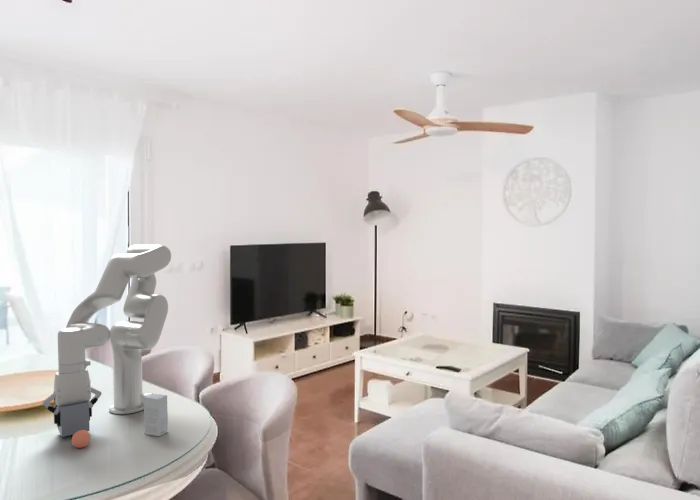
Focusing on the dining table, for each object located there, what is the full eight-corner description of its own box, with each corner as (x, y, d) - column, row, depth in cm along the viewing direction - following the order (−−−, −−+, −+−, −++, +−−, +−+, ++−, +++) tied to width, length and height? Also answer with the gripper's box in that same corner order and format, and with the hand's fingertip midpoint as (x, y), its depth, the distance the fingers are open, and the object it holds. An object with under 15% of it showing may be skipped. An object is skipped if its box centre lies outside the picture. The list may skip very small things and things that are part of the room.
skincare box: (168, 431, 167) (167, 395, 166) (159, 437, 163) (158, 399, 162) (152, 429, 169) (152, 392, 168) (143, 434, 165) (143, 397, 164)
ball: (88, 441, 159) (88, 425, 159) (92, 447, 155) (91, 431, 155) (70, 446, 156) (69, 429, 156) (73, 452, 152) (73, 435, 152)
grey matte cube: (84, 423, 170) (84, 396, 169) (89, 430, 164) (88, 403, 163) (57, 428, 165) (57, 401, 165) (61, 436, 159) (61, 408, 158)
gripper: (99, 360, 172) (100, 412, 173) (38, 369, 161) (39, 425, 162) (104, 365, 166) (105, 419, 167) (41, 375, 155) (43, 432, 156)
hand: (73, 422), depth 164 cm, fingers closed on grey matte cube, 7 cm apart
